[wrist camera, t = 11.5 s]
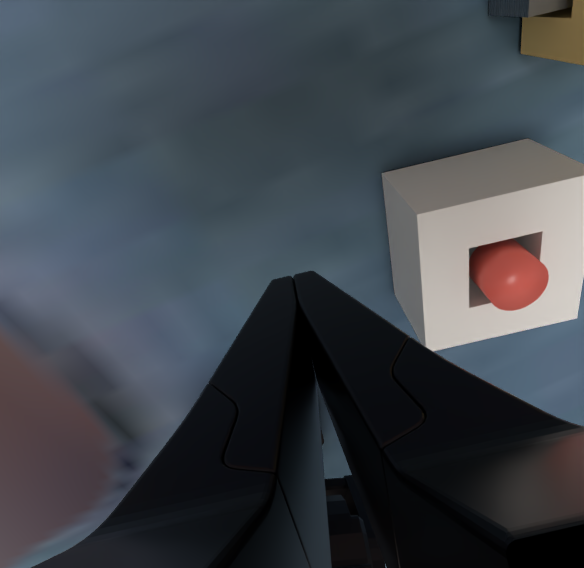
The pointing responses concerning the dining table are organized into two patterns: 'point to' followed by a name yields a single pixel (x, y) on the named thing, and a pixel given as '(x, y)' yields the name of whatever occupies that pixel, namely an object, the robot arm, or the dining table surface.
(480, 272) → the button
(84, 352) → the dining table surface
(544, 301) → the white button housing
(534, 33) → the block
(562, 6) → the rail
